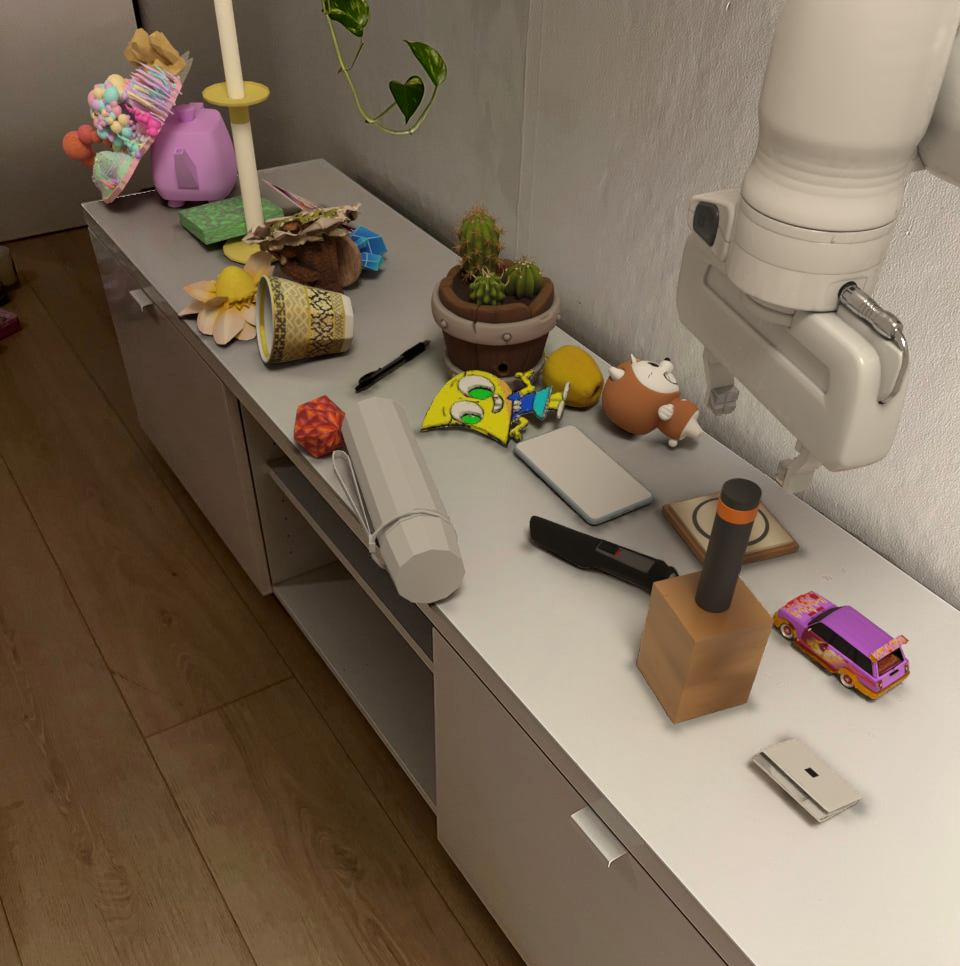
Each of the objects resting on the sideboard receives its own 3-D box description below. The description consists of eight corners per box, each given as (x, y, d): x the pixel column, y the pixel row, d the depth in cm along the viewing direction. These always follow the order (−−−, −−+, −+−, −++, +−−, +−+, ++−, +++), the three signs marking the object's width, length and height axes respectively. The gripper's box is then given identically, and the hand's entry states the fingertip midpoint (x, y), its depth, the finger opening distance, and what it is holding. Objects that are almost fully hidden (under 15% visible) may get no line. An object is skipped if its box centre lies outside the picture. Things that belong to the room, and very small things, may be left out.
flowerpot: (581, 387, 117) (599, 219, 103) (471, 425, 112) (473, 252, 97) (513, 333, 126) (521, 170, 111) (407, 365, 120) (401, 198, 106)
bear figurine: (218, 237, 122) (249, 335, 128) (324, 218, 117) (352, 321, 123) (271, 214, 133) (297, 306, 139) (370, 196, 127) (393, 292, 134)
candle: (243, 228, 145) (195, -84, 118) (305, 239, 143) (271, -76, 116) (209, 257, 139) (150, -66, 111) (274, 269, 137) (230, -57, 109)
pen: (348, 382, 115) (349, 390, 116) (359, 387, 115) (360, 395, 116) (422, 333, 123) (422, 342, 124) (433, 338, 123) (433, 346, 124)
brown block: (706, 646, 89) (729, 563, 82) (746, 703, 84) (774, 620, 77) (636, 665, 87) (653, 582, 80) (673, 724, 83) (695, 641, 75)
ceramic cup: (359, 284, 114) (273, 280, 111) (356, 372, 119) (273, 371, 115) (330, 271, 125) (250, 267, 121) (328, 352, 129) (250, 351, 125)
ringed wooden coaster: (745, 492, 104) (748, 481, 104) (797, 551, 98) (801, 541, 97) (661, 511, 102) (663, 500, 101) (708, 573, 96) (711, 563, 95)
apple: (598, 385, 109) (538, 346, 110) (577, 428, 114) (520, 390, 115) (622, 360, 113) (565, 323, 114) (601, 402, 118) (546, 366, 119)
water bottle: (407, 386, 103) (473, 538, 87) (405, 449, 109) (467, 603, 92) (319, 394, 101) (370, 552, 84) (322, 458, 106) (370, 618, 90)
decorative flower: (329, 300, 127) (308, 338, 136) (275, 226, 126) (258, 269, 135) (234, 349, 120) (219, 385, 129) (176, 271, 119) (165, 313, 128)
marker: (719, 584, 80) (749, 474, 72) (738, 608, 78) (770, 497, 70) (687, 593, 79) (714, 481, 71) (705, 617, 77) (734, 506, 69)
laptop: (745, 767, 79) (755, 750, 78) (787, 748, 82) (798, 731, 81) (813, 832, 75) (825, 814, 74) (855, 809, 78) (867, 792, 77)
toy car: (805, 602, 93) (818, 565, 90) (909, 681, 86) (928, 645, 83) (763, 626, 91) (775, 589, 87) (867, 709, 84) (884, 673, 81)
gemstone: (309, 287, 134) (348, 259, 143) (367, 288, 131) (403, 260, 140) (298, 230, 130) (339, 205, 138) (358, 230, 127) (395, 205, 136)
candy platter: (178, 63, 155) (123, 18, 149) (214, 45, 136) (153, -8, 130) (97, 203, 157) (40, 164, 151) (121, 205, 138) (58, 160, 132)
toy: (550, 454, 107) (419, 427, 110) (551, 457, 108) (420, 431, 111) (572, 373, 110) (443, 349, 112) (572, 377, 111) (444, 353, 113)
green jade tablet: (254, 191, 149) (258, 208, 150) (177, 211, 144) (182, 228, 146) (282, 209, 141) (286, 227, 142) (202, 230, 137) (207, 248, 138)
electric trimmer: (539, 529, 100) (541, 504, 98) (681, 584, 94) (686, 559, 92) (521, 549, 98) (522, 524, 95) (665, 607, 92) (670, 582, 90)
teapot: (168, 170, 159) (152, 84, 150) (247, 171, 160) (235, 85, 151) (147, 223, 146) (127, 132, 136) (232, 224, 146) (219, 132, 137)
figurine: (723, 387, 102) (626, 330, 104) (675, 463, 104) (581, 405, 107) (731, 397, 111) (641, 343, 113) (686, 466, 113) (599, 412, 116)
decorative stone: (309, 395, 101) (277, 393, 107) (310, 462, 102) (278, 456, 109) (364, 396, 104) (330, 393, 110) (365, 460, 106) (331, 454, 112)
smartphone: (592, 522, 99) (510, 444, 108) (591, 529, 100) (510, 451, 108) (657, 496, 102) (573, 422, 111) (656, 503, 103) (572, 429, 111)
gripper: (967, 326, 52) (883, 529, 62) (761, 176, 65) (719, 364, 75) (866, 345, 50) (797, 551, 60) (676, 188, 63) (645, 378, 73)
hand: (752, 446), depth 68 cm, fingers open, 8 cm apart
